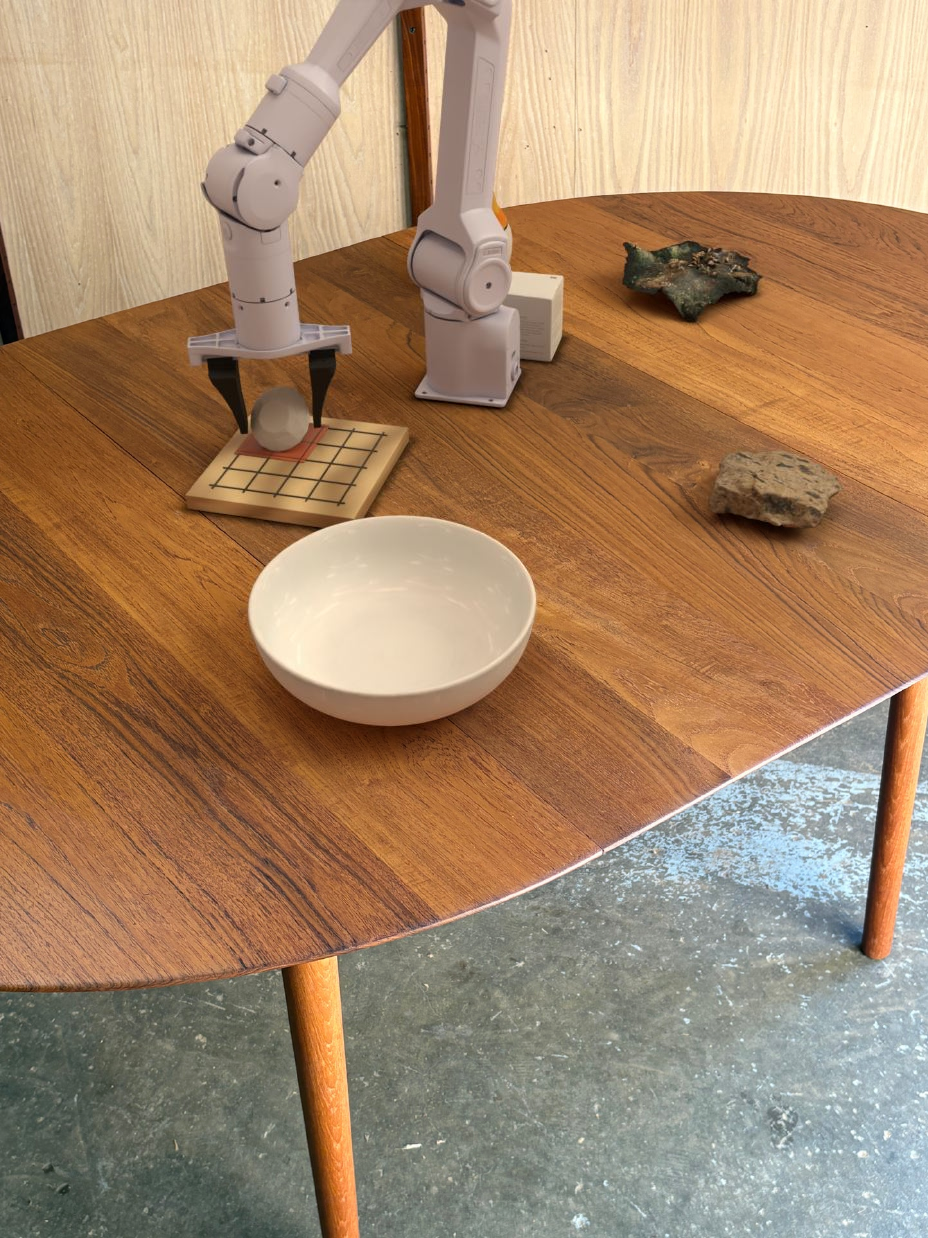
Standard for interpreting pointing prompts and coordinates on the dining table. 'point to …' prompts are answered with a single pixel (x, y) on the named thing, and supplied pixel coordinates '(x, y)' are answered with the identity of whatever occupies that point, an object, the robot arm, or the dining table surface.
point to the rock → (773, 488)
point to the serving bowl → (392, 618)
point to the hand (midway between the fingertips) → (281, 425)
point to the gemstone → (280, 418)
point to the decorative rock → (688, 274)
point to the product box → (537, 313)
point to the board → (302, 474)
